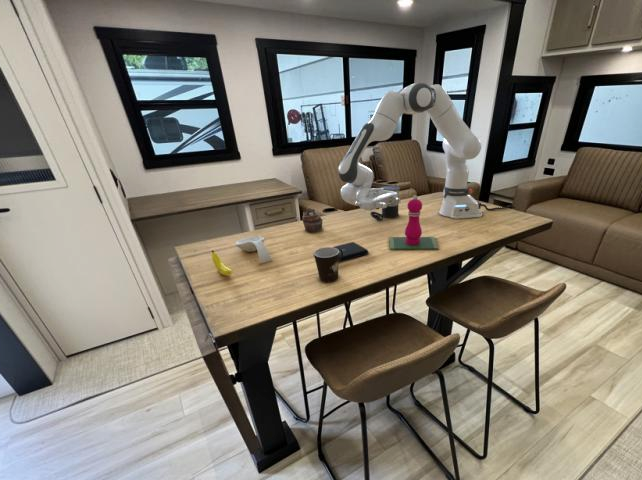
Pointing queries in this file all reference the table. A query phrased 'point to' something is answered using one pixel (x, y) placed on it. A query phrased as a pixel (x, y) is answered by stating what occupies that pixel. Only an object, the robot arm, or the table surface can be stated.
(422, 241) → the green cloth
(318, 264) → the coffee mug
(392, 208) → the milk frother
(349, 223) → the table surface
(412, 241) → the pepper mill
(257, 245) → the spoon rest
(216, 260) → the banana
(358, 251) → the laptop
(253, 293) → the table surface
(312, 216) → the cupcake
